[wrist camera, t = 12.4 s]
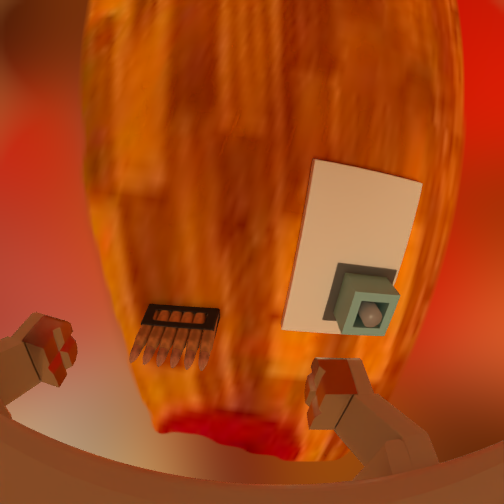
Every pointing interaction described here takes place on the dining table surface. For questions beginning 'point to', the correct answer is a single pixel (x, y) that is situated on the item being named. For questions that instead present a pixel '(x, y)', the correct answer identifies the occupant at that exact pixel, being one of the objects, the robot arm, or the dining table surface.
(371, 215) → the post board
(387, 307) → the collar
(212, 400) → the dining table surface
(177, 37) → the dining table surface
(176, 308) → the ammunition clip
